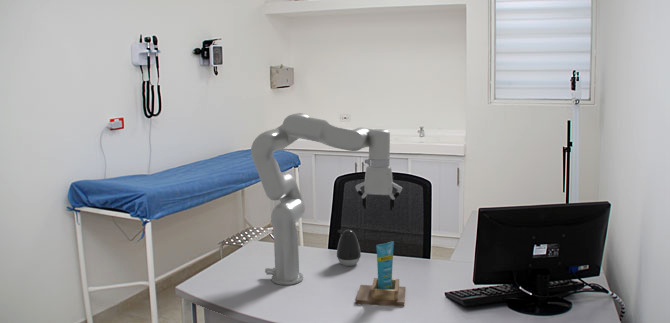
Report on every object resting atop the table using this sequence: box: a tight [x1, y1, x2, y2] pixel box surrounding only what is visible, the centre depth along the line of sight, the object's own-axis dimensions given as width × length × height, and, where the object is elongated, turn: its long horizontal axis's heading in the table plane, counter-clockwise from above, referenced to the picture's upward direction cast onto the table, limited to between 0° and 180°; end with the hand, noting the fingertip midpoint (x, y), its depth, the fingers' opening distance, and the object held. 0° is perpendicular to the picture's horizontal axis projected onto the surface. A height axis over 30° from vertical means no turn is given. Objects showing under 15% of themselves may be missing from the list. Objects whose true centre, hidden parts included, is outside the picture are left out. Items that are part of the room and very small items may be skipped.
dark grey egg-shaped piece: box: [336, 229, 362, 267], centre depth 236 cm, size 10×10×15 cm
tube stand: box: [355, 277, 407, 307], centre depth 203 cm, size 17×14×5 cm
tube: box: [375, 240, 395, 289], centre depth 201 cm, size 7×5×19 cm, turn 125°
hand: (378, 208), depth 205 cm, fingers open, 9 cm apart
